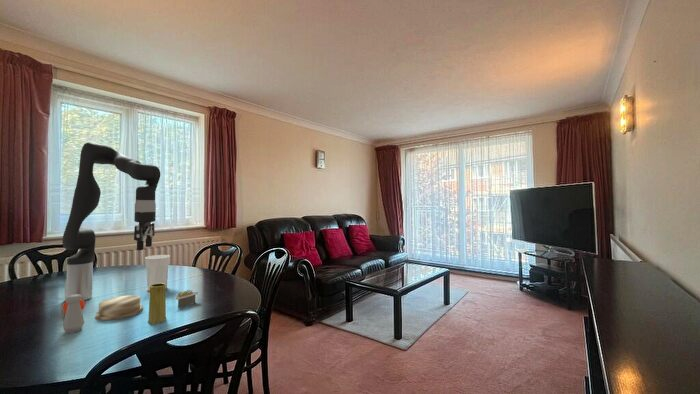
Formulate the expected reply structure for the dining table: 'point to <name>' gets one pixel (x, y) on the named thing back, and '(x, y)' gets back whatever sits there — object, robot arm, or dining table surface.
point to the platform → (186, 298)
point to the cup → (157, 269)
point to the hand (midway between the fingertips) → (144, 248)
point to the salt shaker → (73, 314)
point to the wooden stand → (119, 307)
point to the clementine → (80, 305)
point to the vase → (157, 303)
